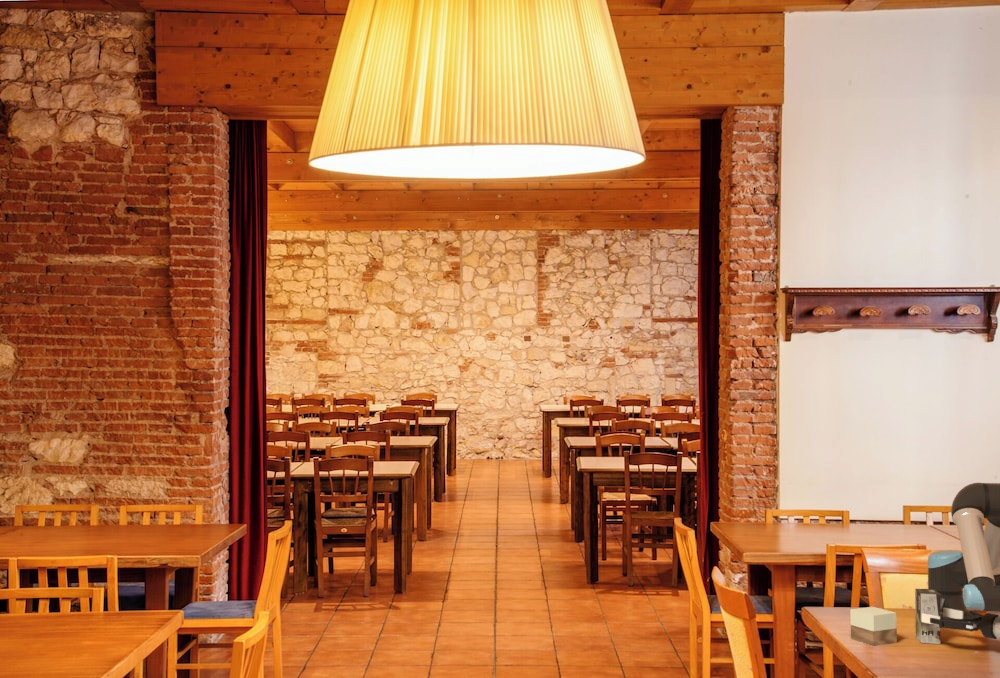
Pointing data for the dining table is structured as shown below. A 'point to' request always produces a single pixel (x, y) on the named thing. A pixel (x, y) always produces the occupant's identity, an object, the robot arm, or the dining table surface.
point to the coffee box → (927, 604)
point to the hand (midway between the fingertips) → (933, 614)
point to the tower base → (874, 636)
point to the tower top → (873, 618)
